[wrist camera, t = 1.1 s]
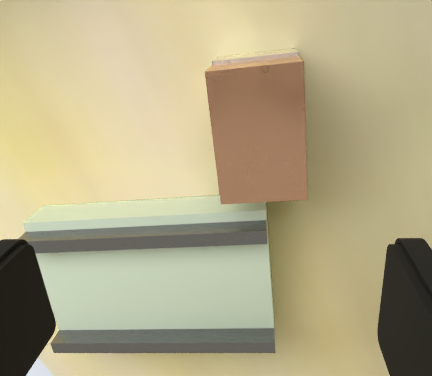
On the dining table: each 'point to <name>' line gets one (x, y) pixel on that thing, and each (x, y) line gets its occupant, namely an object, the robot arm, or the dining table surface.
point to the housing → (259, 126)
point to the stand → (157, 275)
